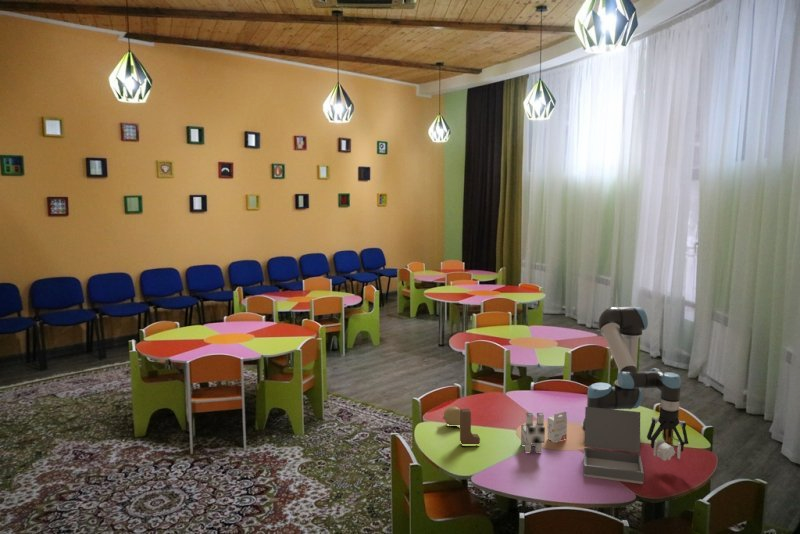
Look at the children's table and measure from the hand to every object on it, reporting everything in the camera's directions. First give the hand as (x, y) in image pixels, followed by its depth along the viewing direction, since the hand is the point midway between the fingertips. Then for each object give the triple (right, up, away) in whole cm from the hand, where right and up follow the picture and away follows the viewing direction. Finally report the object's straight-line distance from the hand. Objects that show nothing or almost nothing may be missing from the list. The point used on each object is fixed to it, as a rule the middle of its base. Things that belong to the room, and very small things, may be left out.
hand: (666, 456), depth 260 cm
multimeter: (+18, -2, +29) cm, 34 cm away
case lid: (-21, +9, +10) cm, 25 cm away
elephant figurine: (0, -1, 0) cm, 1 cm away
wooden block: (-84, -3, +27) cm, 88 cm away
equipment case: (-24, -6, 0) cm, 25 cm away
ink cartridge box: (-40, -2, +32) cm, 51 cm away
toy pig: (-90, 0, +50) cm, 103 cm away
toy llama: (-55, -4, +21) cm, 59 cm away
